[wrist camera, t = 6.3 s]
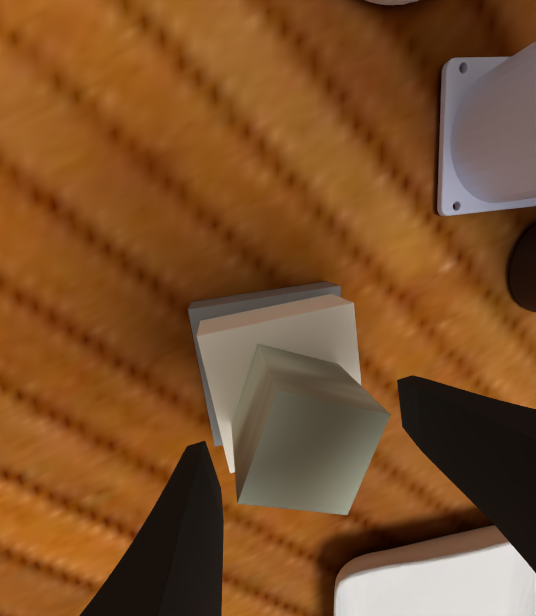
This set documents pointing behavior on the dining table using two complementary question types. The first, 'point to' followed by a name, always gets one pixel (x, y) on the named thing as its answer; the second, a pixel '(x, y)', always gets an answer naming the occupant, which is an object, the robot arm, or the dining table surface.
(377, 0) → the ramekin
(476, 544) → the salad plate
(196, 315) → the charcoal slab
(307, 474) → the sage cube
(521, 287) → the bottle
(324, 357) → the cream slab
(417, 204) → the dining table surface
